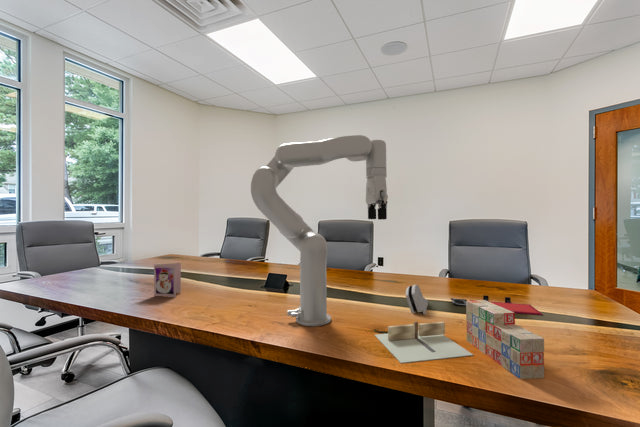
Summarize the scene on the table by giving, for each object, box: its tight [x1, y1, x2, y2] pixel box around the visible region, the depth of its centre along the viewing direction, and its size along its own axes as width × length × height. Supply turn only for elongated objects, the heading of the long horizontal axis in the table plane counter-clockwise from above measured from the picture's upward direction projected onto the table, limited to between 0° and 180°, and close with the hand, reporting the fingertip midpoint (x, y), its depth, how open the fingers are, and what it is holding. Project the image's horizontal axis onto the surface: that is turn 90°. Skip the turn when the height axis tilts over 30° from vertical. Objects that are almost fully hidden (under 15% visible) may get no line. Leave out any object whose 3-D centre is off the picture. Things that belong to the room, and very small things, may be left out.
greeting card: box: [153, 262, 182, 298], centre depth 141 cm, size 11×7×15 cm, turn 80°
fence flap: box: [418, 321, 446, 337], centre depth 91 cm, size 8×1×4 cm, turn 101°
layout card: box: [374, 330, 474, 364], centre depth 86 cm, size 21×18×1 cm
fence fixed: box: [387, 321, 419, 341], centre depth 89 cm, size 10×1×5 cm, turn 101°
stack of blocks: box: [465, 299, 545, 380], centre depth 78 cm, size 21×6×12 cm, turn 5°
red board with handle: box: [450, 294, 543, 316], centre depth 122 cm, size 30×3×15 cm
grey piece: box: [405, 284, 429, 316], centre depth 121 cm, size 17×5×10 cm, turn 156°
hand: (376, 219), depth 111 cm, fingers open, 9 cm apart
